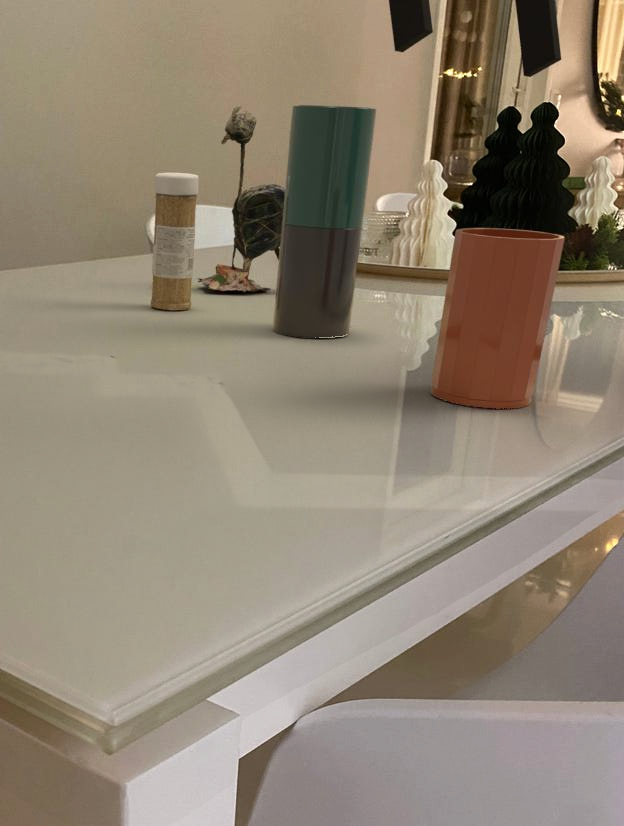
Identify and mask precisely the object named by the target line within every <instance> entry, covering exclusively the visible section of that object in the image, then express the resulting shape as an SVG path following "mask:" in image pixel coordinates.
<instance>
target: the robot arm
mask: <svg viewBox="0 0 624 826" xmlns="http://www.w3.org/2000/svg"><path fill="white" fill-rule="evenodd" d="M514 2H515V10H516V11H515V12H516V19H517V28H518V29H517V30H518V38H519V47H520V54H521V55H520V56H521V63H522V73H523V76H524V77H528V78H531V77H534V76H535V75H537V74H538V73H540V72H542V71H543V70H544V71H545V70H546V69H547V68H549V67H552V66H553V65H555V64H556V63H558V62H560V61H561V60H562V51H561V44H560V43H561V42H560V33H559V25H558V5H557V0H514ZM388 5H389V6H388V7H389V13H390V22H391V30H392V38H393V46H394V52H398V53H404V52H406V51H407V50H409V49H410V48H412V47H414V46H415V45H416V44H418V43H420V42H421V41H422V40H423V39H425V38H427V37H428V36H430V35H431V34H433V33H434V30H433V21H432V14H431V5H430V0H388Z"/></svg>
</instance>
